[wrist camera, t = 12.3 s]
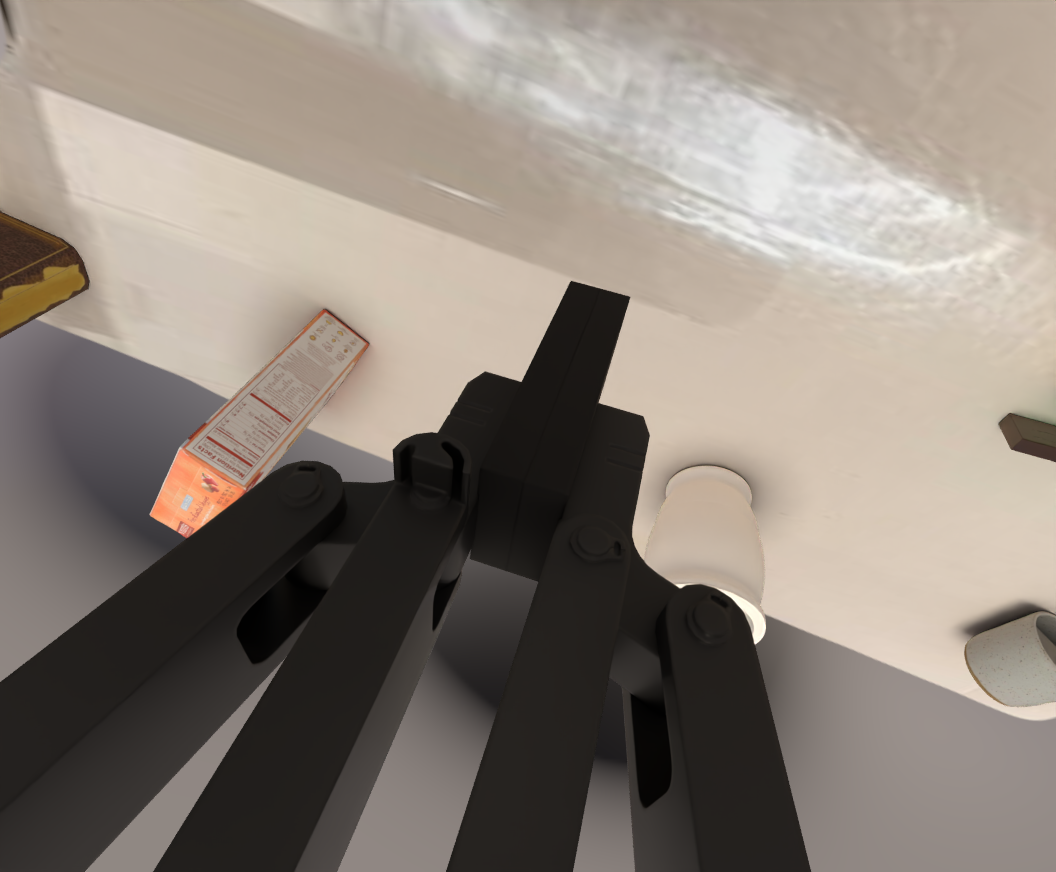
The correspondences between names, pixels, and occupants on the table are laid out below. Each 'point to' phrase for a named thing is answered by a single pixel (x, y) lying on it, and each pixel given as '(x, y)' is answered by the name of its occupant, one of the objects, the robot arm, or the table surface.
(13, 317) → the book
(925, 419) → the table surface
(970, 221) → the table surface
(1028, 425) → the bay
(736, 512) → the jar
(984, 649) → the ceramic mug
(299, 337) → the cracker box
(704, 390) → the table surface
